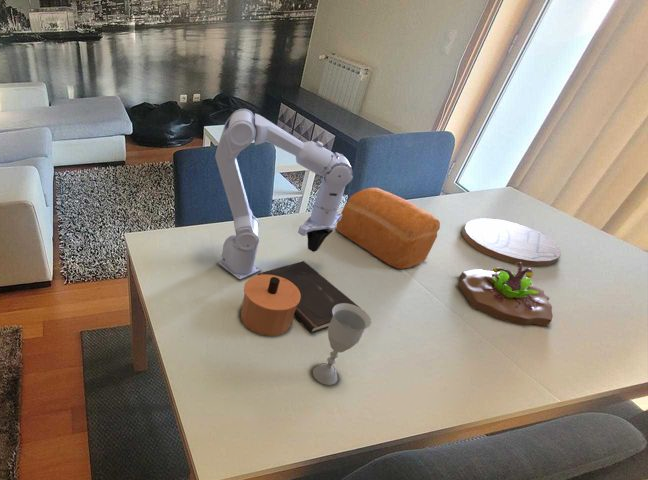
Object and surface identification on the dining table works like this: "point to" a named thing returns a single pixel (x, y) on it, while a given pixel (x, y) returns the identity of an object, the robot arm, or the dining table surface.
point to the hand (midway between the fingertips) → (312, 249)
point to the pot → (265, 319)
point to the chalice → (342, 337)
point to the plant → (507, 295)
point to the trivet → (511, 242)
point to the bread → (389, 227)
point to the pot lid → (272, 292)
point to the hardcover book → (312, 295)
